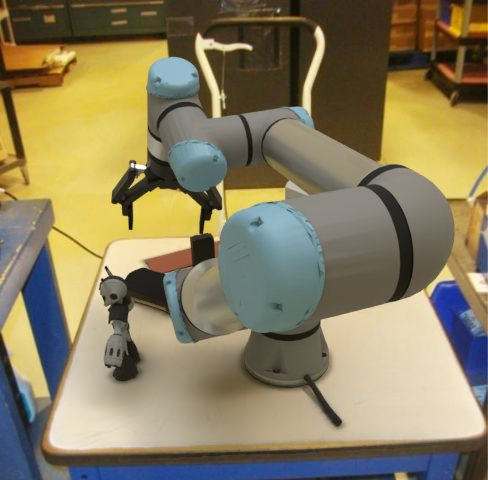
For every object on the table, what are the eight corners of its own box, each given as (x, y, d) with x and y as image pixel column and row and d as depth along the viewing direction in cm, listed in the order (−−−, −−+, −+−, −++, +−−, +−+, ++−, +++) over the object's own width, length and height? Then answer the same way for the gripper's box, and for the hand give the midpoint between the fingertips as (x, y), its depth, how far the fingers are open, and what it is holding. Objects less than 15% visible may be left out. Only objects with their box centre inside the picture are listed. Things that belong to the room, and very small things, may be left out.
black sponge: (202, 298, 129) (201, 283, 127) (178, 318, 124) (177, 303, 121) (141, 279, 136) (139, 265, 134) (116, 297, 131) (113, 283, 128)
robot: (134, 402, 104) (117, 304, 92) (105, 404, 104) (84, 305, 92) (146, 334, 120) (132, 242, 108) (121, 335, 120) (105, 243, 108)
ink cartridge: (213, 263, 141) (210, 231, 137) (216, 267, 140) (214, 236, 135) (192, 267, 140) (189, 235, 135) (195, 271, 138) (192, 240, 134)
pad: (235, 254, 144) (235, 253, 144) (155, 275, 138) (155, 274, 137) (222, 241, 150) (222, 240, 150) (144, 260, 143) (144, 259, 143)
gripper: (243, 136, 105) (229, 215, 123) (94, 124, 102) (102, 207, 120) (245, 169, 101) (230, 245, 120) (90, 158, 98) (99, 238, 116)
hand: (166, 226), depth 120 cm, fingers open, 13 cm apart
